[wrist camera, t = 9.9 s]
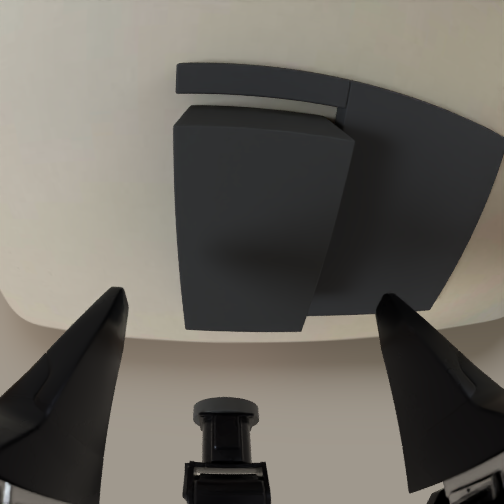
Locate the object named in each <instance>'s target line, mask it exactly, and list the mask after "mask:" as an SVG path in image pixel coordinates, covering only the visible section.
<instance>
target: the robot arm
mask: <svg viewBox="0 0 504 504" xmlns="http://www.w3.org/2000/svg"><path fill="white" fill-rule="evenodd" d="M128 309H129V307H128V302H127V298H126V295H125V291H124V289H123V288H122V287H111V288H109V289H108V290H107V291H106V292H105V293H104V294H103V295H102V296H101V297H100V298H99V299H98V300H97V301H96V302H95V303H94V304H93V305H92V306H91V307H90V308H89V309H88V310H87V311H86V312H85V313H84V314H83V315H82V316H81V317H80V318H79V319H78V320H77V321H76V322H75V323H74V324H73V325H72V326H71V327H70V328H69V329H68V330H67V331H66V332H65V333H64V334H63V335H62V336H61V337H60V338H59V339H58V340H57V341H56V342H55V343H54V344H53V345H52V346H51V348H50V349H49V350H48V351H47V353H45V354H44V355H43V356H42V357H41V358H40V359H39V360H38V361H37V363H35V364H34V366H32V368H31V369H30V370H29V371H28V372H27V373H25V374H24V375H23V376H22V377H21V378H20V379H19V380H18V381H17V382H16V383H15V384H14V385H13V386H12V387H11V388H9V389H8V391H6V392H5V393H4V394H3V395H2V396H1V397H0V504H99V500H100V487H101V477H102V468H103V457H104V450H105V443H106V436H107V429H108V424H109V417H110V411H111V406H112V401H113V396H114V390H115V385H116V380H117V376H118V371H119V367H120V362H121V357H122V353H123V347H124V340H125V332H126V324H127V317H128ZM375 315H376V321H377V326H378V332H379V338H380V344H381V350H382V354H383V358H384V362H385V366H386V370H387V374H388V378H389V382H390V387H391V391H392V395H393V400H394V404H395V410H396V415H397V420H398V425H399V430H400V436H401V441H402V446H403V454H404V460H405V467H406V475H407V481H408V490H409V493H413V492H416V491H419V490H421V489H424V488H427V487H430V486H433V485H435V484H437V483H440V482H443V484H444V488H442V489H440V490H438V491H436V492H434V493H432V494H431V496H430V498H429V501H428V502H427V504H504V389H503V388H502V387H500V386H499V385H498V384H497V383H496V382H494V381H493V380H492V379H491V378H490V377H488V376H487V375H486V374H484V372H482V371H481V370H480V369H479V368H478V367H476V366H475V365H474V364H473V363H472V362H471V361H470V360H469V359H467V358H466V357H465V356H464V355H463V354H462V353H461V352H460V351H458V349H457V348H456V347H455V346H453V345H452V344H451V343H450V342H449V341H448V340H447V339H446V338H445V337H444V336H443V335H441V334H440V333H439V332H438V331H437V330H436V329H435V328H434V327H433V326H432V325H430V324H429V323H428V322H427V321H426V320H425V319H424V318H423V317H421V316H420V315H419V314H418V313H417V312H416V311H415V310H413V309H412V308H411V307H410V306H409V305H408V304H406V303H405V302H404V301H403V300H402V299H401V298H399V297H398V296H397V295H396V294H394V293H386V294H384V295H383V296H382V298H381V300H380V302H379V304H378V306H377V308H376V312H375ZM198 418H199V423H200V428H201V431H203V445H202V446H203V447H202V462H194V461H190V463H185V476H184V486H183V498H184V499H185V500H186V501H187V504H271V495H270V486H269V480H268V474H267V468H266V462H260V463H252V461H251V445H250V431H251V428H252V425H253V421H254V418H255V414H254V413H212V412H199V413H198ZM197 472H198V473H201V474H200V475H197ZM205 473H226V474H205ZM242 473H256V474H242Z"/></svg>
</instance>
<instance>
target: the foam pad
mask: <svg viewBox="0 0 504 504" xmlns="http://www.w3.org/2000/svg"><path fill="white" fill-rule="evenodd" d="M354 145H355V140H353V139H352V138H351V137H350V136H348V135H347V134H346V133H345V132H343V131H342V130H341V129H340V128H338V127H337V126H336V125H334V124H333V123H332V122H331V121H329V120H328V119H327V118H325V117H324V116H319V115H312V114H305V113H298V112H290V111H281V110H271V109H261V108H248V107H232V106H205V105H191V106H190V107H189V108H188V109H187V110H186V112H185V113H184V114H183V115H182V116H181V118H180V119H179V120H178V121H177V122H176V124H175V125H174V126H173V154H174V192H175V215H176V232H177V247H178V260H179V272H180V283H181V293H182V303H183V312H184V321H185V329H186V330H204V331H234V332H301V331H302V328H303V325H304V322H305V319H306V316H307V313H308V310H309V307H310V304H311V301H312V298H313V295H314V292H315V289H316V286H317V283H318V279H319V276H320V273H321V270H322V267H323V263H324V260H325V257H326V253H327V250H328V246H329V243H330V240H331V236H332V232H333V229H334V225H335V222H336V218H337V214H338V211H339V207H340V203H341V199H342V195H343V191H344V188H345V184H346V179H347V175H348V171H349V167H350V163H351V159H352V154H353V150H354Z"/></svg>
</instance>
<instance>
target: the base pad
mask: <svg viewBox="0 0 504 504" xmlns="http://www.w3.org/2000/svg"><path fill="white" fill-rule="evenodd" d="M176 93H177V94H230V95H246V96H259V97H270V98H280V99H288V100H296V101H303V102H310V103H317V104H323V105H329V106H334V107H338V108H337V114H336V119H335V125H336V126H337V127H338V128H340V129H341V130H342V131H343V132H345V133H346V134H347V135H348V136H350V137H351V138H352V139H353V140H355V145H354V150H353V154H352V159H351V163H350V167H349V171H348V175H347V179H346V184H345V188H344V191H343V195H342V199H341V203H340V207H339V211H338V214H337V218H336V222H335V225H334V229H333V232H332V236H331V240H330V243H329V246H328V250H327V253H326V257H325V260H324V263H323V267H322V270H321V273H320V276H319V279H318V283H317V286H316V289H315V292H314V295H313V298H312V301H311V304H310V307H309V310H308V313H307V316H330V315H360V314H375V312H376V308H377V306H378V304H379V302H380V300H381V298H382V296H383V295H384V294H386V293H394V294H396V295H397V296H398V297H399V298H401V299H402V300H403V301H404V302H405V303H406V304H408V305H409V306H410V307H411V308H412V309H413V310H415V311H425V310H430V309H431V307H432V306H433V304H434V302H435V301H436V299H437V298H438V296H439V294H440V293H441V291H442V289H443V288H444V286H445V284H446V283H447V281H448V279H449V277H450V276H451V274H452V272H453V270H454V268H455V267H456V265H457V263H458V261H459V259H460V257H461V255H462V254H463V252H464V250H465V248H466V246H467V244H468V242H469V240H470V238H471V235H472V233H473V231H474V229H475V227H476V225H477V223H478V220H479V218H480V216H481V214H482V211H483V209H484V207H485V204H486V202H487V199H488V197H489V194H490V192H491V189H492V186H493V184H494V181H495V178H496V176H497V173H498V170H499V167H500V164H501V161H502V158H503V155H504V137H503V136H501V135H499V134H497V133H495V132H494V131H492V130H490V129H488V128H486V127H484V126H481V125H479V124H477V123H475V122H473V121H471V120H469V119H466V118H464V117H462V116H460V115H457V114H455V113H452V112H450V111H448V110H445V109H443V108H440V107H437V106H435V105H432V104H430V103H427V102H424V101H421V100H418V99H415V98H413V97H410V96H406V95H403V94H400V93H397V92H394V91H390V90H387V89H384V88H380V87H376V86H373V85H369V84H365V83H361V82H357V81H353V80H348V79H343V78H339V77H334V76H329V75H324V74H319V73H313V72H307V71H301V70H294V69H287V68H279V67H270V66H260V65H247V64H231V63H179V64H177V71H176Z"/></svg>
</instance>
